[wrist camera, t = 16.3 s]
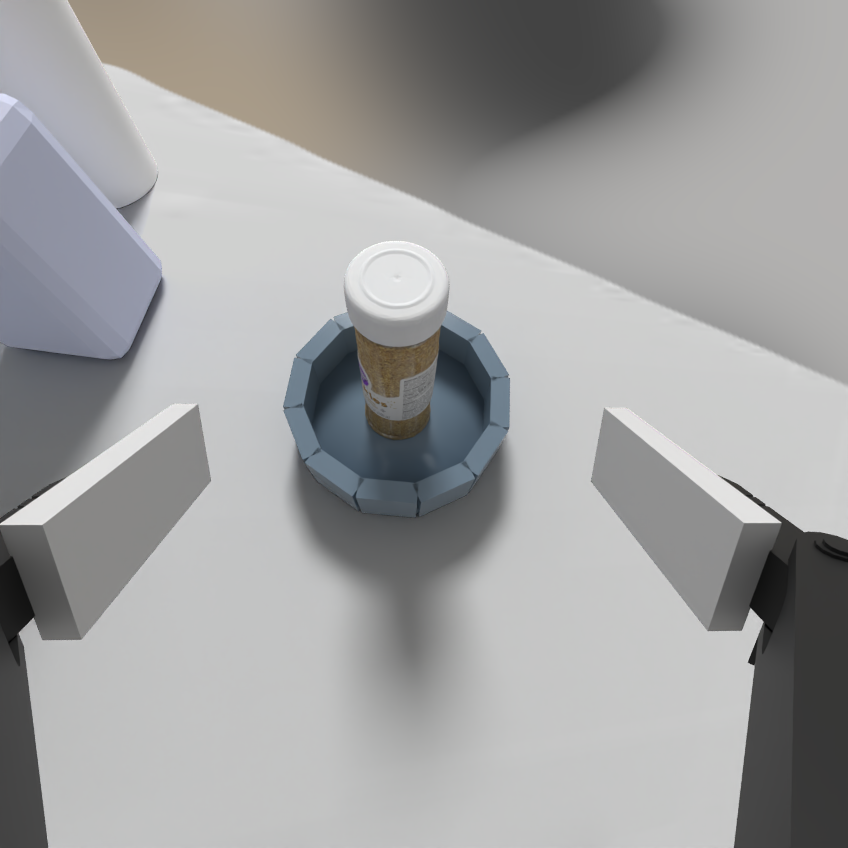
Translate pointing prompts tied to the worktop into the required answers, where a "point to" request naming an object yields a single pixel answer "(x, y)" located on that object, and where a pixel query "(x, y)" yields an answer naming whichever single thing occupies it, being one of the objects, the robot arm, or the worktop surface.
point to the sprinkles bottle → (397, 332)
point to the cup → (73, 96)
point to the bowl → (409, 458)
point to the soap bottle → (64, 250)
